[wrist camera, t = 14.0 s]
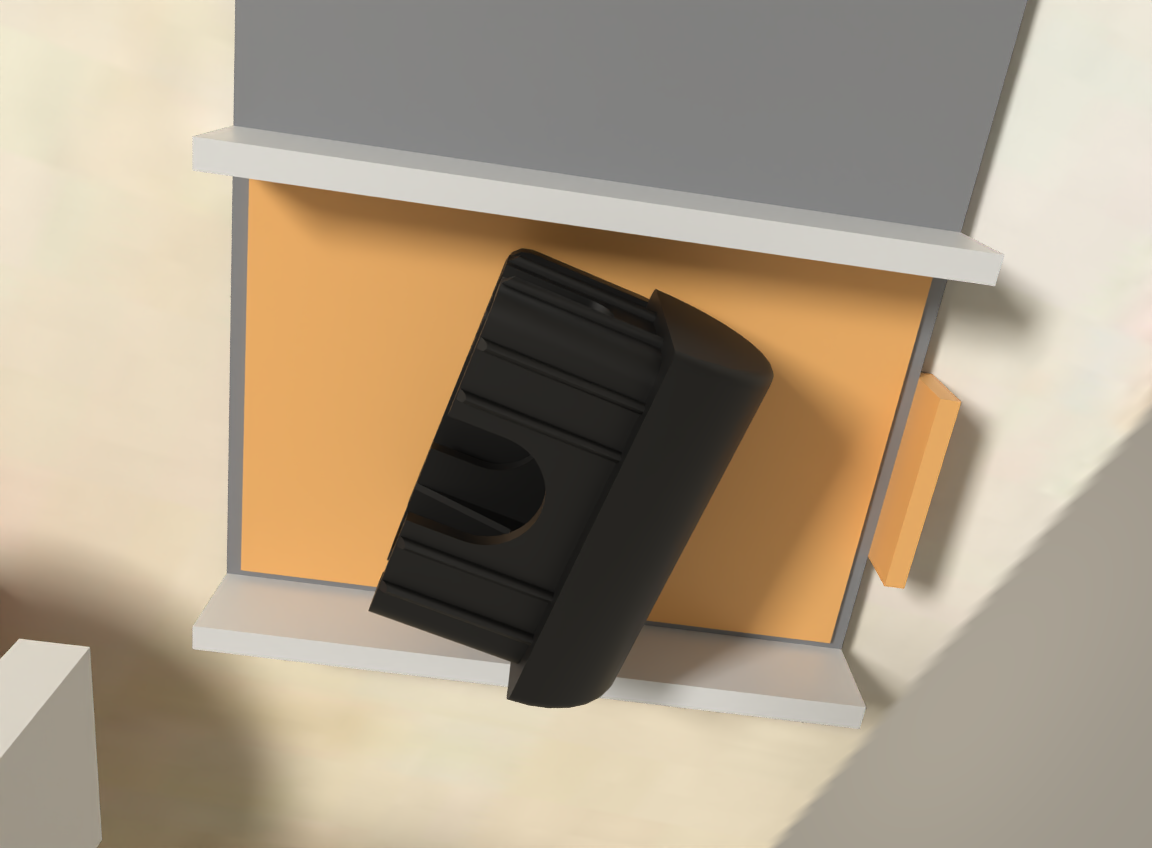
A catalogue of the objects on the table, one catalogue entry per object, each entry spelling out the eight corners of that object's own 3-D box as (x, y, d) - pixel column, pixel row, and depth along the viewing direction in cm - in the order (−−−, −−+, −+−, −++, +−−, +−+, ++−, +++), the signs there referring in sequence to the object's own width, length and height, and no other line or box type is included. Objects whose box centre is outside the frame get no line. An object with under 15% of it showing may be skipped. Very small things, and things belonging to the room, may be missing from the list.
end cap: (609, 601, 31) (617, 743, 25) (399, 523, 30) (352, 650, 24) (751, 322, 28) (801, 405, 22) (520, 224, 27) (502, 282, 21)
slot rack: (1145, -359, 23) (1243, -426, 20) (848, 661, 33) (878, 731, 30) (251, -520, 22) (192, -620, 18) (232, 584, 32) (192, 649, 29)
